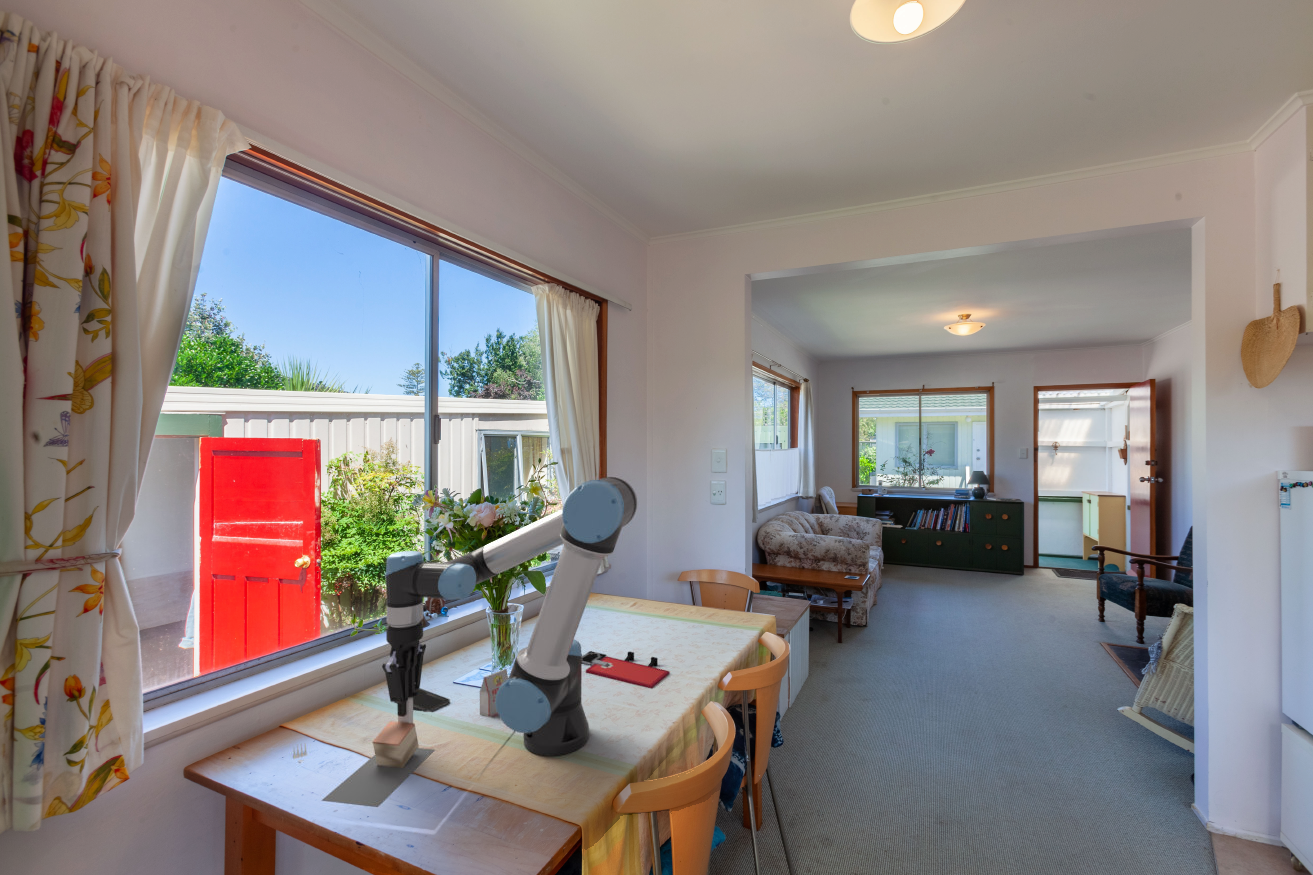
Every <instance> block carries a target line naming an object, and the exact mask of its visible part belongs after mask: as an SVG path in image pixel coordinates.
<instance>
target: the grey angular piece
mask: <svg viewBox="0 0 1313 875" xmlns="http://www.w3.org/2000/svg"><path fill="white" fill-rule="evenodd" d="M508 678H509V675H508V670H507V668H504V669H502V670H500V671H497V672H494V673H491V674H489V675H487V676H484V677H483V680H482V683H481V685H480V686H481V687H480V689H479V716H482V717H486V718H494V717H496V716H499V714H498V713H497V711H496V706H495V697H496V694H497V691H498V689H499V688H500V686H501V684H502V683H503V682H504V681H506V680H507V679H508Z"/></svg>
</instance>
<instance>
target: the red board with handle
mask: <svg viewBox="0 0 1313 875" xmlns="http://www.w3.org/2000/svg"><path fill="white" fill-rule="evenodd" d="M658 660H659V659H658V657H655V656H651V657H650V662H649V664H648V665H646V664H641V663H636V662H634V661H635V652H633V651H628V652H627V656H626V657H625V659H619V658H616V657H611V656H608V655H607V654H605V653H600V652H596V651H592V650H589V651H588V652H587V653H585V654H582V663H584V664H588V665H591V666H590V667H588V668H586V669H585V673H586V674H589V675H594V676H598V677H602V678H606V679H609V680H613V681H614V680H615V681H618V682H623V683H627V684H631V685H635V686H639V687H642V688H647V689H653V688H654V687H655V686H656V685H658V684H659V683H660V682H661V681H662V680H665V678H666V677H668V676H669V675H670V670H665V669H661V668H657V666H658V663H659V662H658Z"/></svg>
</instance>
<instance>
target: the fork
mask: <svg viewBox="0 0 1313 875" xmlns="http://www.w3.org/2000/svg"><path fill="white" fill-rule="evenodd" d="M302 746H303V745H302V743H300V750H299V744H297V746H296V747H297V748H296V749H297V750H295V748H293V759H294V760H295V759H298V758H302V757H307V755H308V752H307V747H306V746H307V745H306V744H304V752H303V747H302ZM296 751H297V752H296ZM303 761H304V759H301V760H298V761H297V763H300V764H301V763H302V762H303Z"/></svg>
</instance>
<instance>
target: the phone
mask: <svg viewBox="0 0 1313 875" xmlns="http://www.w3.org/2000/svg"><path fill="white" fill-rule="evenodd" d="M415 692H418V696H417V697H414V696H413V711H415V712H417V711H418V712H424V713H426V712H427V713H433V712H436V711H437V710H440V709H442V708H443V707H446V706H449V705H450V703H451V701H450V699H449V698H447V697H445V696H443V695H439V694H436V693H434V692H431V691H429V690H426V689H423V688H421V687H420V688H419V690H416V691H415ZM395 703H396V704H397V702H395Z"/></svg>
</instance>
